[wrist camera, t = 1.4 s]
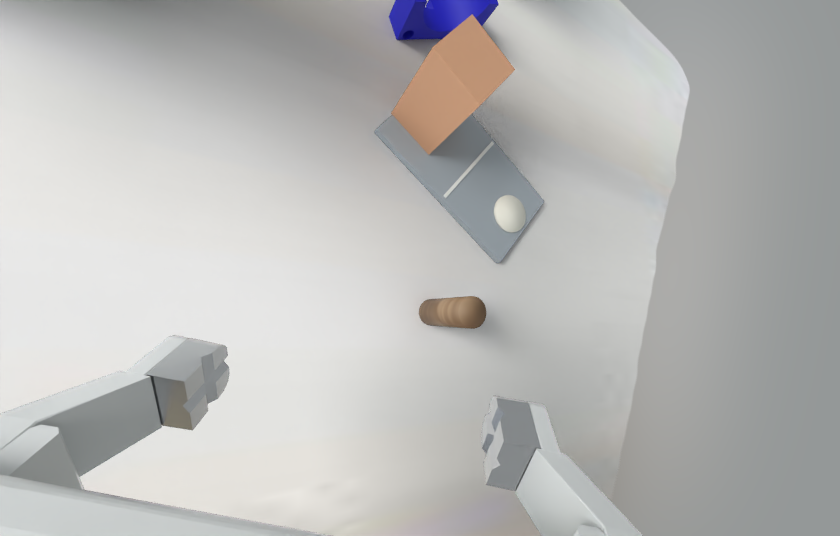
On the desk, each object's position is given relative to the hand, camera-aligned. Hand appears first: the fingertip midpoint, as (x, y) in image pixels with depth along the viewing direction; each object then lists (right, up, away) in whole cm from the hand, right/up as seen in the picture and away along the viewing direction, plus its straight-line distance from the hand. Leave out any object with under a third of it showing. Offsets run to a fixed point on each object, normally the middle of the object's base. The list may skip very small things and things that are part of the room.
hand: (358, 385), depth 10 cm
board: (+8, +16, +34) cm, 38 cm away
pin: (+3, -2, +30) cm, 30 cm away
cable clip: (+3, +36, +35) cm, 50 cm away
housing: (+3, +22, +31) cm, 38 cm away
